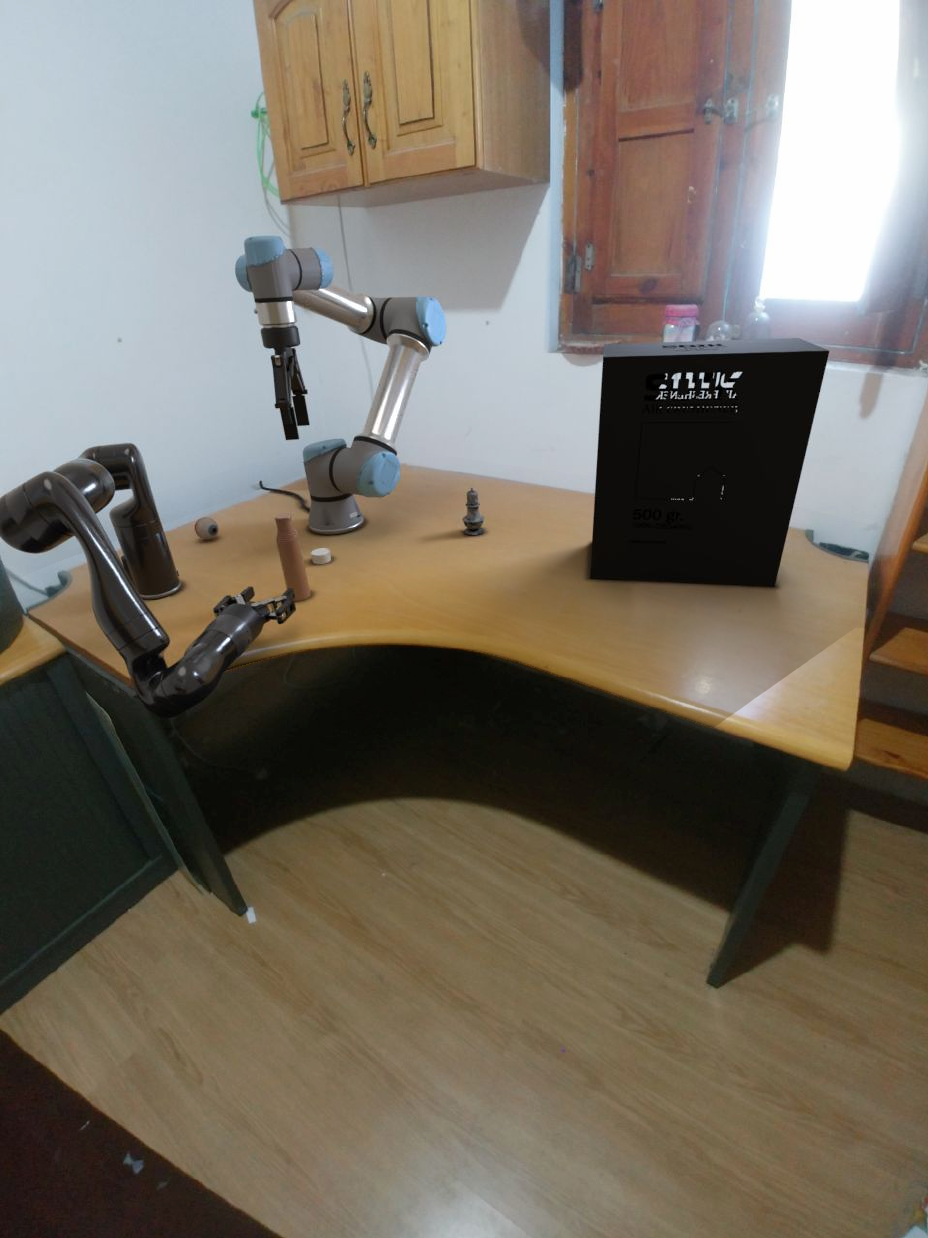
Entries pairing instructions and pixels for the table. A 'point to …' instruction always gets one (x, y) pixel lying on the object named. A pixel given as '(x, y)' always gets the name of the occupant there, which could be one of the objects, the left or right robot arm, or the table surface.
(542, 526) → the table surface
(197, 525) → the eyeball
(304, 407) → the right robot arm
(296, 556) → the bottle
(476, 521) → the salt shaker
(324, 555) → the cap
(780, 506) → the cardboard box
